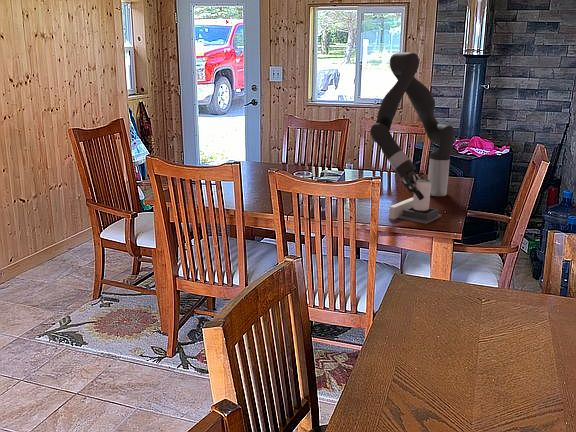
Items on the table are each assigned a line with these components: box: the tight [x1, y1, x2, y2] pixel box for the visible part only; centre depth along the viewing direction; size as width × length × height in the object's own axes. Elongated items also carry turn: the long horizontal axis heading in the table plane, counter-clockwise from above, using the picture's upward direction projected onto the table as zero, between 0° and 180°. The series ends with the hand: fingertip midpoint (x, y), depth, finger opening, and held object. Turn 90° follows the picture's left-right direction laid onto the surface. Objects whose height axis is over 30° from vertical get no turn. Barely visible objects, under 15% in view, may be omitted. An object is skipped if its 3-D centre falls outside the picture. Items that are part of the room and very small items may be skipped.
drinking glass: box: [310, 178, 335, 209], centre depth 244 cm, size 10×10×12 cm
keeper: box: [398, 206, 442, 225], centre depth 235 cm, size 14×12×3 cm
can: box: [413, 178, 431, 211], centre depth 233 cm, size 6×6×12 cm
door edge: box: [388, 196, 414, 220], centre depth 240 cm, size 20×2×5 cm, turn 141°
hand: (425, 197), depth 232 cm, fingers closed on can, 5 cm apart
